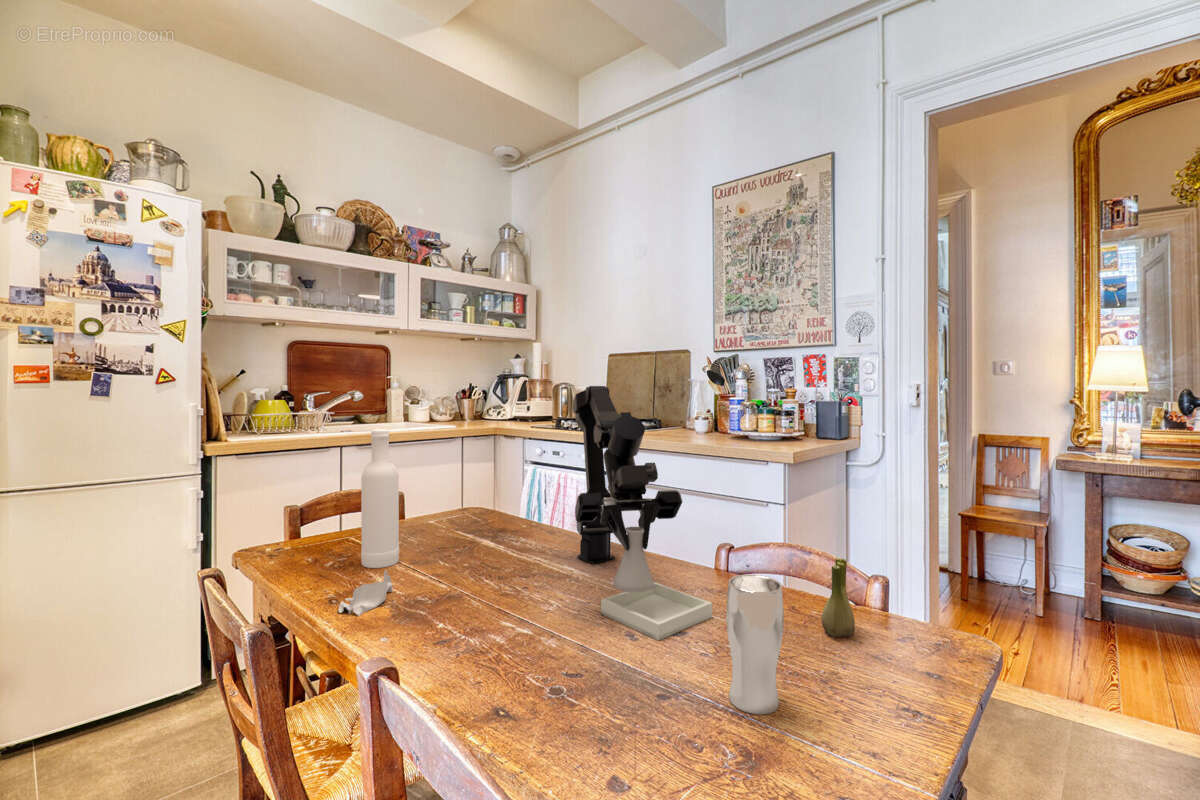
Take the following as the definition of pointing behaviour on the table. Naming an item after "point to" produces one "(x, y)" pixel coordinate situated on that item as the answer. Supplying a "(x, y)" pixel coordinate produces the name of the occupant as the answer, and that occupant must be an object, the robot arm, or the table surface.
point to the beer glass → (754, 641)
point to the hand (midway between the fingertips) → (636, 548)
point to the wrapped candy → (367, 596)
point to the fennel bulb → (838, 605)
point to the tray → (657, 610)
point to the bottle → (380, 506)
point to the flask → (634, 565)
